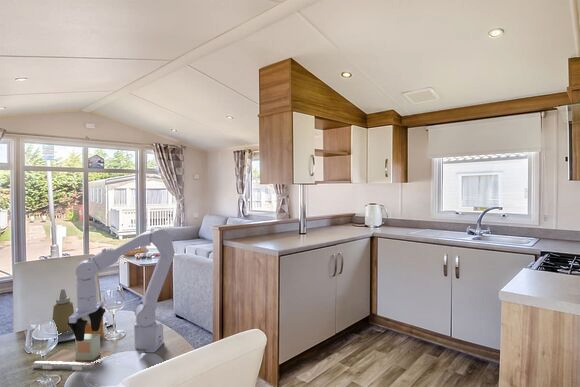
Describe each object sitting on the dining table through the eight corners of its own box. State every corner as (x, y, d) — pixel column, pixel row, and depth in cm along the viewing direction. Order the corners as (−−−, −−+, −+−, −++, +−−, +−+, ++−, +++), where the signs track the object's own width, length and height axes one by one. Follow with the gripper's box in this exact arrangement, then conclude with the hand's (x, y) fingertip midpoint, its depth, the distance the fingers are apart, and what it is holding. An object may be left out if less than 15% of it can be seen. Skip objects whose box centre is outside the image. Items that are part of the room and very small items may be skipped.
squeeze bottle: (66, 337, 131) (65, 292, 131) (46, 337, 131) (45, 292, 131) (80, 328, 139) (79, 286, 139) (61, 329, 139) (60, 286, 139)
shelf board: (115, 354, 117) (115, 346, 117) (91, 374, 104) (91, 365, 104) (62, 352, 119) (62, 345, 118) (32, 372, 106) (32, 363, 106)
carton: (84, 353, 115) (83, 333, 115) (100, 354, 115) (99, 334, 115) (75, 359, 111) (75, 338, 111) (92, 360, 111) (92, 339, 111)
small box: (79, 344, 125) (78, 310, 125) (80, 337, 131) (79, 305, 130) (103, 339, 129) (102, 306, 129) (103, 333, 134) (103, 301, 134)
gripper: (90, 289, 120) (91, 326, 120) (59, 303, 106) (60, 345, 106) (108, 289, 120) (109, 326, 120) (80, 303, 105) (81, 345, 105)
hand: (88, 335), depth 113 cm, fingers open, 7 cm apart
